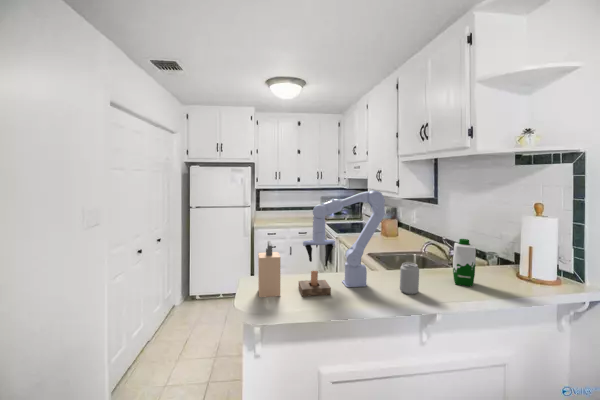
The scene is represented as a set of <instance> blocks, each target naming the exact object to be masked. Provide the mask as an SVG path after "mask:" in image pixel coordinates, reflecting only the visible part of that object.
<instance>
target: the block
mask: <svg viewBox="0 0 600 400" xmlns="http://www.w3.org/2000/svg"><path fill="white" fill-rule="evenodd" d="M298 290H299V292H300V295H301V297H303V298H304V297H319V296H331V295H332V287H331V286H330V285H329V283H328V281H327V280H326V279H318V286H311V279H309V280H298Z"/></svg>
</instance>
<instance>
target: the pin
mask: <svg viewBox="0 0 600 400" xmlns="http://www.w3.org/2000/svg"><path fill="white" fill-rule="evenodd" d="M318 275H319V272H318V270H311V271H310V280H311V286H318V280H319V278H318V277H319V276H318Z"/></svg>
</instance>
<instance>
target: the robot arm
mask: <svg viewBox="0 0 600 400" xmlns="http://www.w3.org/2000/svg"><path fill="white" fill-rule="evenodd" d="M358 203H365V204H368V205H369V207H370V208H371V212H372V213H371V215H370V217H369V218H368V220H367V222H366V224H365V225H364V226H363V229H362V230H361V232H360V233H359V235H358V237H357V239H355V242H354V243H353V244H351V246H350V248H348V249H347V250H346V251H345V255H344V256H345V258H346V261H345V263H344V279H342V280H341V282H342V284H343V285H344V286H345V287H346V288H357V287H358V288H361V287H367V286H368V285H367V277H368V276H367V273H368V272H367V267H366V265H365V264H363V263H361V262H362V257H363V255H364V252H365V249H366V247H367V246H368V244H369V242H370V241H371V239H372V237H373V235H374V234H375V232H376V231H377V230H378V226H379V225H380V224H381V222H382V220H383V218H384V217H385V215H386V206H385V203H386V199H385V197H384V195H383V193H382V192H381V191H378V190H374V189H371V190H369V191H368V190H367V191H362V192H359V193H357V194H354V195H352V196H349V197H346V198H343V199H338V198H331V200H329V201H326V202H321V203H320V204H316V205H315V206H314V207H313V208H312V209H313V210H312V215H313V216H312V220H313V221H312V240H302V245H303V246H304V248H305V250H306V251H307V254H308V260H309V262H313V259H312V258H313V256H312V254H313V247H312V246H324V248H325V261H326V262H328V261H329V258H330V255H331V253H332V251H333V249H334V246H335V245H336V241H335V239H326V220H325V219H326V216H330V215H333V214H336V213H338V212H339V213H340V212H341V211H342V210H343V207H347V206H351V205H353V204H358Z"/></svg>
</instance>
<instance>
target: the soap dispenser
mask: <svg viewBox="0 0 600 400" xmlns="http://www.w3.org/2000/svg"><path fill="white" fill-rule="evenodd" d="M257 253H258V254H257V255H258V256H257V258H258V259H257V260H258V261H257V263H258V265H257V266H258V269H257V270H258V271H257V275H258V277H257V278H258V290H257V291H258V296H259V298H270V297H272V298H273V297H281V255H280V252H279V251H273V245H272V241H271V240H267V248H265V252H257Z"/></svg>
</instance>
